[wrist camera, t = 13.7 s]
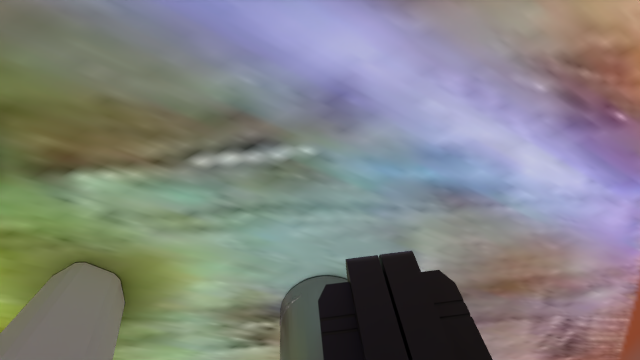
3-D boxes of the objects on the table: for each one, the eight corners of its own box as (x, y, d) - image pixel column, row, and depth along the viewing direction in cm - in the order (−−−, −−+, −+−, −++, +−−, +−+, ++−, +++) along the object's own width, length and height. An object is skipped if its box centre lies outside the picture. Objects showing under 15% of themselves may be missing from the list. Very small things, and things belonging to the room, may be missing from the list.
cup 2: (21, 247, 50) (-95, 391, 34) (131, 242, 50) (65, 382, 35) (48, 338, 55) (-42, 500, 39) (148, 333, 55) (97, 491, 40)
